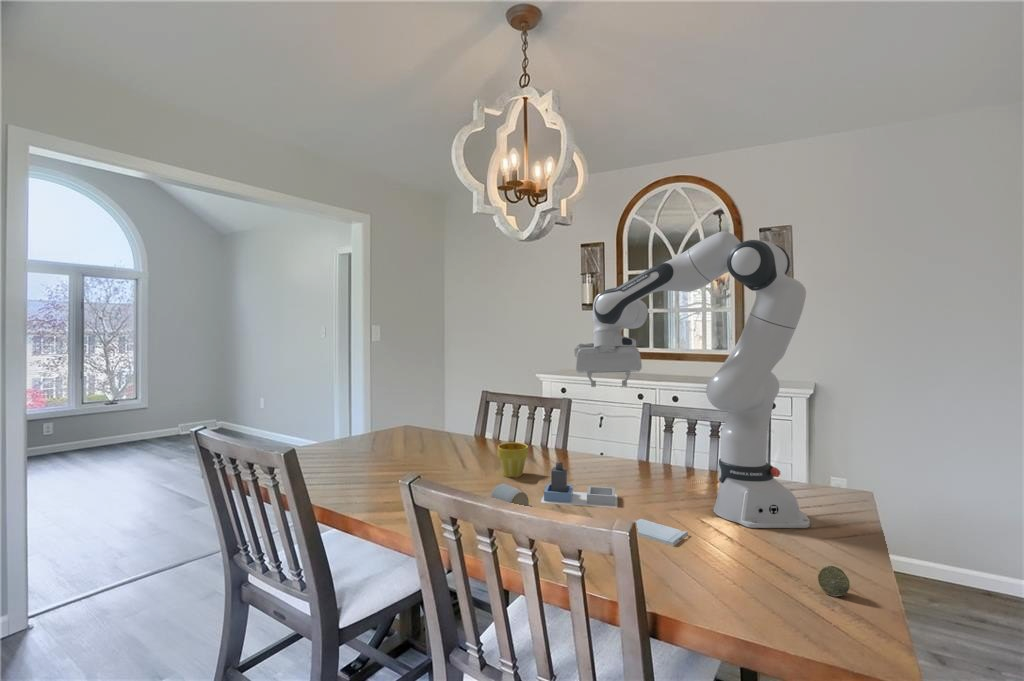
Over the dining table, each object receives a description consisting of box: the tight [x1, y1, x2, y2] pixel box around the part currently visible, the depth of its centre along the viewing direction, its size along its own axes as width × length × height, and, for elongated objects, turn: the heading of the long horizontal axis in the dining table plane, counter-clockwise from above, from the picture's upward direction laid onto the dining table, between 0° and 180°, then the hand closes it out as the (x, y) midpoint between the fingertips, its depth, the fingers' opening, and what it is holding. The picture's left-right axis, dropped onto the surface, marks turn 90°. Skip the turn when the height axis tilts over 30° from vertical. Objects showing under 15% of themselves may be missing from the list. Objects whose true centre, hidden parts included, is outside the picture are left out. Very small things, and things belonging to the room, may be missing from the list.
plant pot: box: [497, 442, 529, 478], centre depth 171 cm, size 10×10×10 cm
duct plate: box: [540, 483, 618, 509], centre depth 145 cm, size 21×11×4 cm, turn 78°
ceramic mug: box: [490, 483, 532, 507], centre depth 136 cm, size 11×8×8 cm
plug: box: [550, 461, 568, 492], centre depth 146 cm, size 4×4×10 cm
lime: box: [817, 565, 851, 597], centre depth 95 cm, size 4×5×5 cm
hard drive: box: [634, 518, 689, 547], centre depth 123 cm, size 2×8×12 cm
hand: (609, 386), depth 157 cm, fingers open, 8 cm apart
